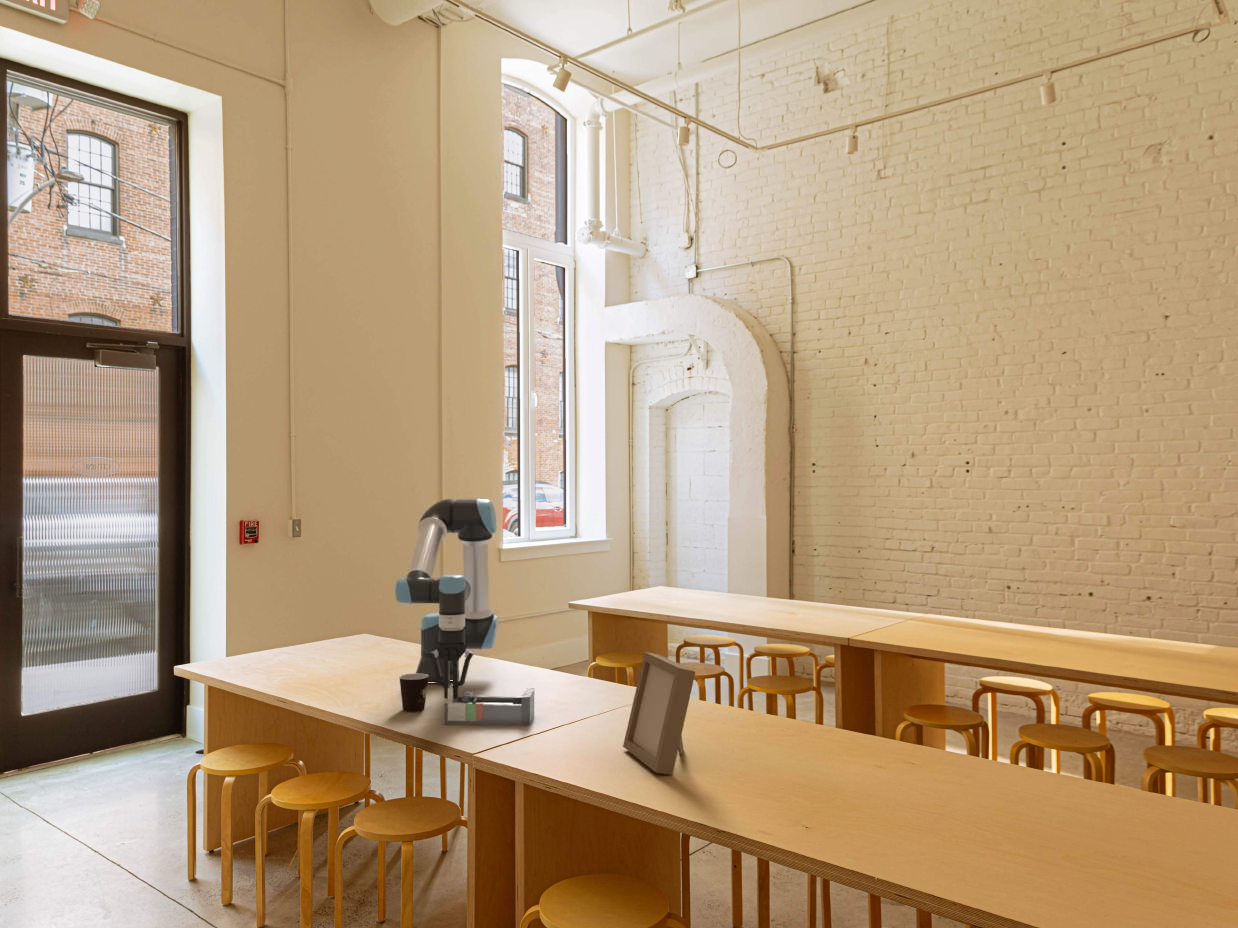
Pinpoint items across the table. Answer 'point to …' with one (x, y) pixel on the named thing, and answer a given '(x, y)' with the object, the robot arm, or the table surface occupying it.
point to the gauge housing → (492, 710)
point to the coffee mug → (413, 691)
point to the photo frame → (659, 712)
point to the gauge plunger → (468, 698)
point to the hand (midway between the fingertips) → (451, 709)
